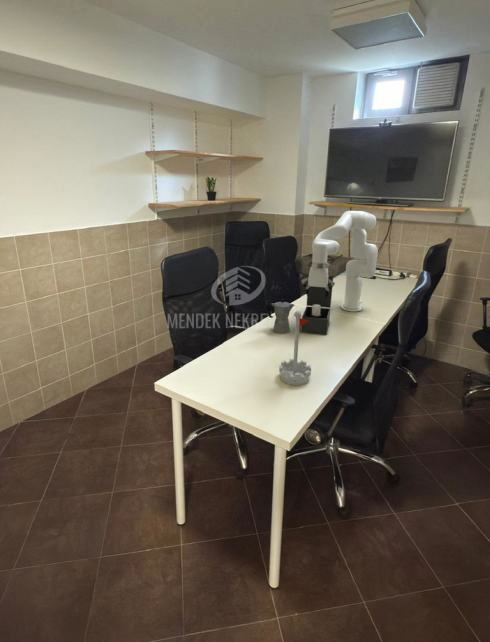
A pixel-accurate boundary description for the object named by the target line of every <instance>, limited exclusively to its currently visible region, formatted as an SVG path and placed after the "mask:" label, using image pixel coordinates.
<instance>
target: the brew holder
mask: <svg viewBox="0 0 490 642" xmlns="http://www.w3.org/2000/svg"><path fill="white" fill-rule="evenodd" d="M321 316H322V315H321V314H320V315H319V316H314V315H312V313H311V314H310V317H313V318H321Z"/></svg>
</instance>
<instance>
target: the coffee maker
mask: <svg viewBox="0 0 490 642" xmlns="http://www.w3.org/2000/svg"><path fill="white" fill-rule="evenodd" d="M311 313H312V306H307V305H306V307H305V309H304V311H303V314H302V315H301V318H302V319H305V320H307V321H308V322H306V323H305V324H304V325H302V326H301V327H300V329H301V331H300V332H302V333H310V334H315V335H317V334H318V335H324V336H325V335H328V330H329V326H330V319H331V308H326V307H321V309H320V314H321V315H322V316H321V318H313V317H310V314H311Z"/></svg>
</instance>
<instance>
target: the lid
mask: <svg viewBox="0 0 490 642" xmlns="http://www.w3.org/2000/svg"><path fill="white" fill-rule="evenodd" d="M328 279H329V280H331V281H333V282H334V275H330V274H328ZM327 286H328V287H330V286H331V283H329V282H328V285H327ZM325 294H326V289H325V287H314V286H310V287H309V296H307V295H306V306H309V307H312V305H315V304H316V305H320V306H321V308H329V309H332V308H331V307H332V298H333V297H332V295H333V288H332V289H330V290H329V294H328V296H327V298H325Z"/></svg>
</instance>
